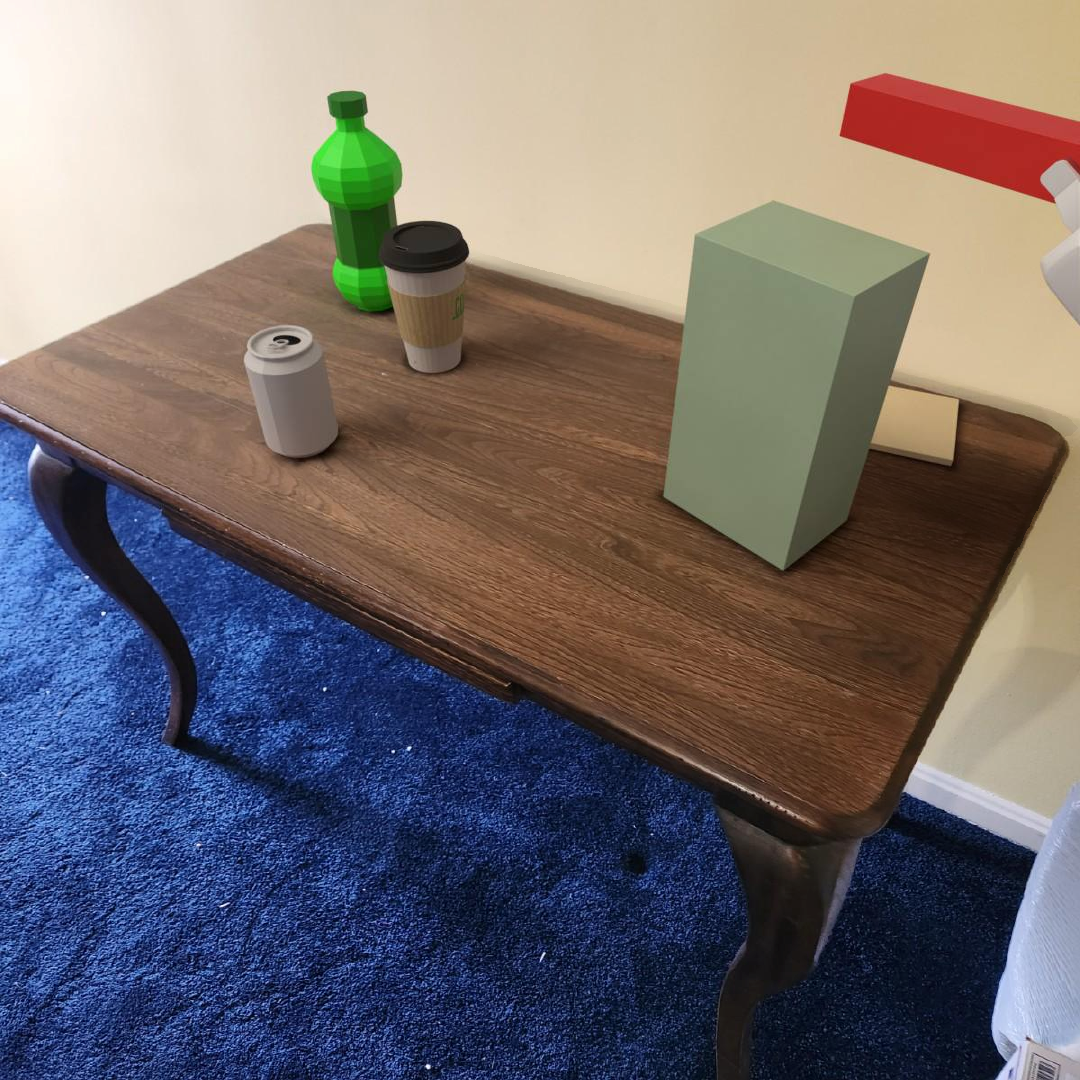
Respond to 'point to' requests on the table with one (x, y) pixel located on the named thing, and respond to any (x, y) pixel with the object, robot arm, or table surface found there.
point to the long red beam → (960, 132)
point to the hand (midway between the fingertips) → (1070, 156)
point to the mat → (917, 425)
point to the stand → (784, 373)
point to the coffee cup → (427, 290)
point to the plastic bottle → (358, 200)
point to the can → (291, 391)
